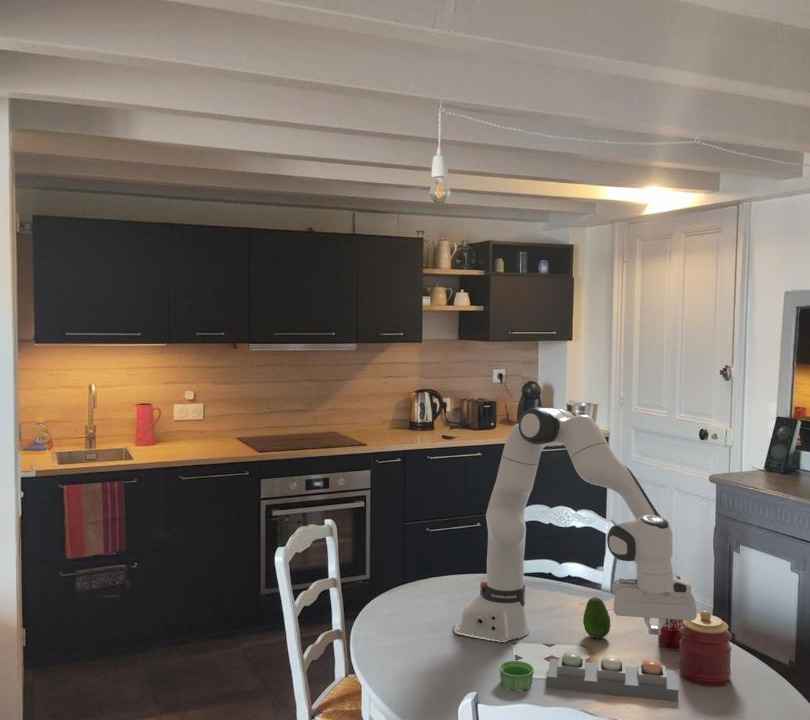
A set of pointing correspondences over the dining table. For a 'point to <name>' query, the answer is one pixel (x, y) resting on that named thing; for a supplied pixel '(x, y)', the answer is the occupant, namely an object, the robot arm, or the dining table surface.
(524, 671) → the ramekin
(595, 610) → the avocado
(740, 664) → the dining table surface
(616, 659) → the cream button
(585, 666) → the panel
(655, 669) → the terracotta button
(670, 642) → the soda can
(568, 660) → the sage button
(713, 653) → the canister
